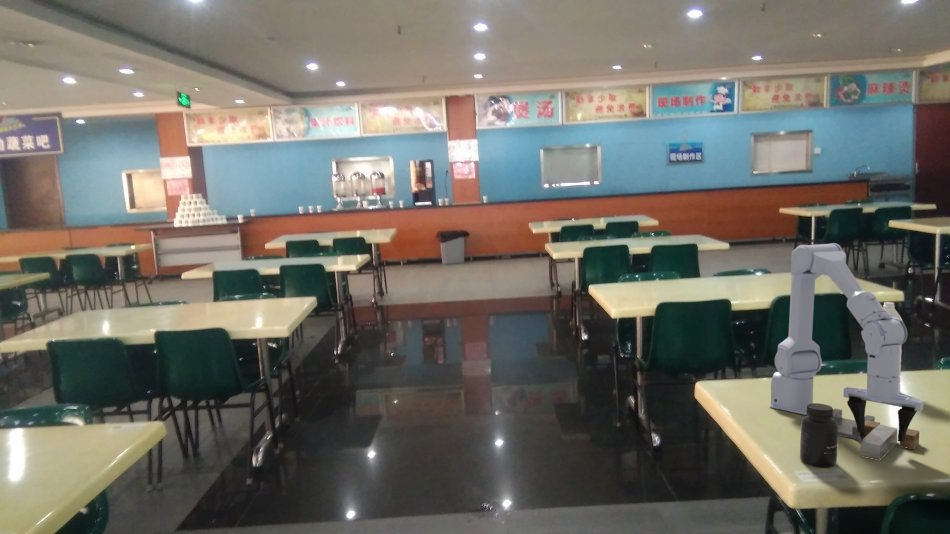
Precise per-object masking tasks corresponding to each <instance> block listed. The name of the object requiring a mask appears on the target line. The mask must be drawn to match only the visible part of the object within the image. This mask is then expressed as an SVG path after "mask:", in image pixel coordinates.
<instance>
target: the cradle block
mask: <svg viewBox="0 0 950 534" xmlns="http://www.w3.org/2000/svg"><path fill="white" fill-rule="evenodd" d="M832 419H833V420H834V421H835V422H836V423H837V425H838V436H840V435H841V437H844V436H845V438H848V437H850V438H849V439H853V438H855V439H854V440H857V439H858V440H857V441H862V440H863V439H864V434H863V432H861V433H860V432H858V429H857V425H856V421H855V419H848V418H845V417H843V409H839V408H833V418H832ZM866 420H870V421H875V420H876V419H875V416H873V415H868V414H867V415H865V421H866ZM875 422H876V421H875Z"/></svg>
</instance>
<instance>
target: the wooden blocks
mask: <svg viewBox="0 0 950 534" xmlns="http://www.w3.org/2000/svg"><path fill="white" fill-rule="evenodd" d="M879 424H880V425H881V422H880V421H870V420H866V421H865V428H864V431H863V434H864V438H865V437H866V436H867V435H868V434H869V433H870V432H871V431H872V430H873V429H874V428H876V427H877V426H878V425H879ZM864 438H863V439H864ZM919 444H920V430H917V429H912V428H908V429H907V432H906V435H905V439H904V440H903V441H902V442H900V441H899V447H901V446H902V448H905V447H907V448H906V449H910V448H911V449H910V450H915V449H914V448H915V447H916V448H917V447H918V446H919Z"/></svg>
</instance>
